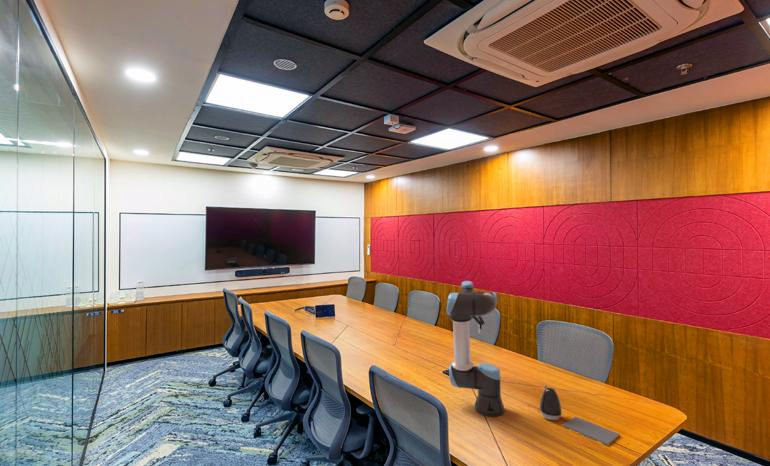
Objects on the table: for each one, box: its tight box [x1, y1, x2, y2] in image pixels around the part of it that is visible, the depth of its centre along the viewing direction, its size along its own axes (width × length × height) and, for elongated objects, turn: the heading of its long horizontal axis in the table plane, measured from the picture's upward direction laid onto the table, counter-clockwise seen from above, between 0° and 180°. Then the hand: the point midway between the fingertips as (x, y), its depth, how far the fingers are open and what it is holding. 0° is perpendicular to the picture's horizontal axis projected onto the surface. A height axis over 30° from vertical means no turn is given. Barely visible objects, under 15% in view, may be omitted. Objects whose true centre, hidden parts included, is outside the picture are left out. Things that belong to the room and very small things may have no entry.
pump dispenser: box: [539, 385, 563, 421], centre depth 180 cm, size 10×10×15 cm
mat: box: [562, 416, 621, 446], centre depth 167 cm, size 13×20×1 cm, turn 36°
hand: (468, 332), depth 239 cm, fingers open, 13 cm apart
